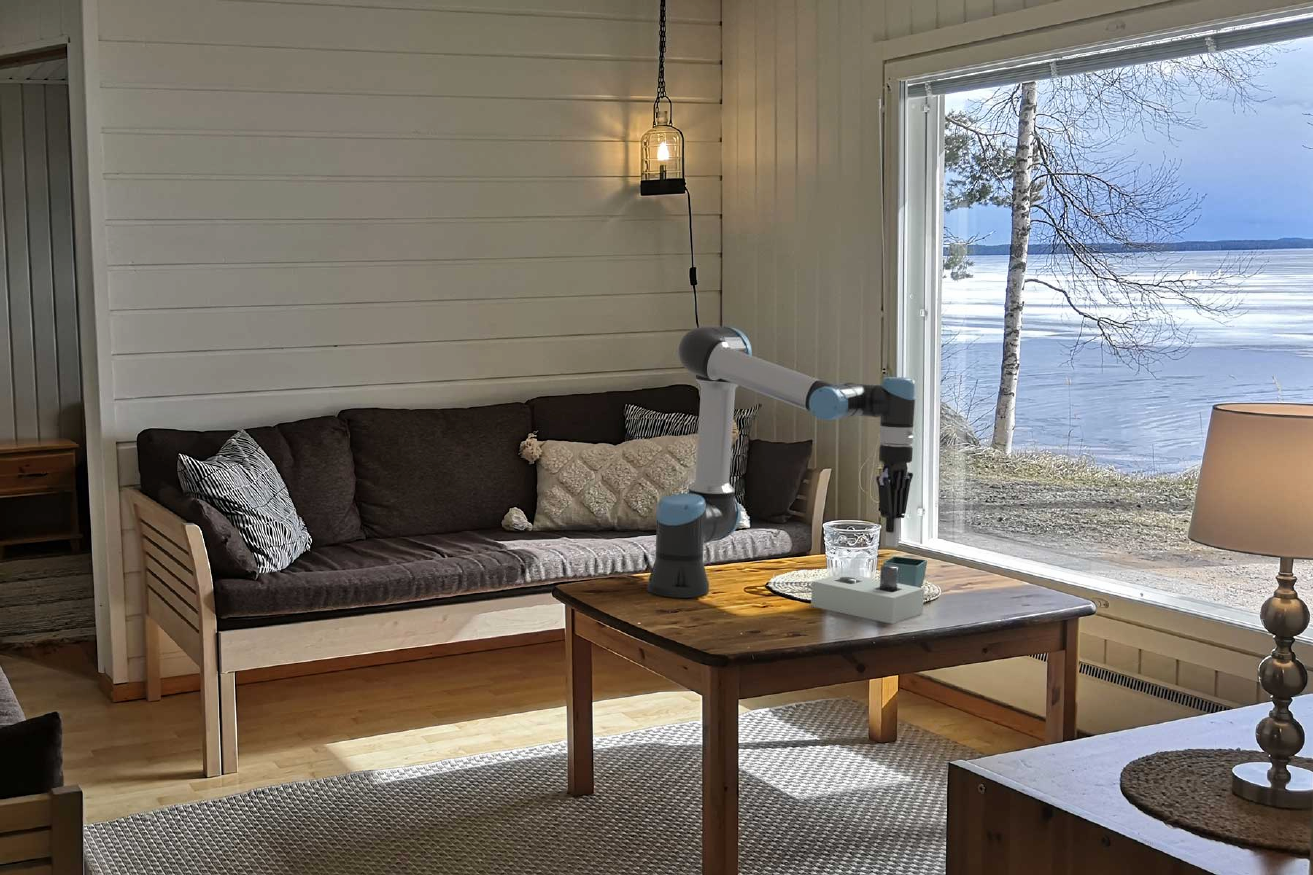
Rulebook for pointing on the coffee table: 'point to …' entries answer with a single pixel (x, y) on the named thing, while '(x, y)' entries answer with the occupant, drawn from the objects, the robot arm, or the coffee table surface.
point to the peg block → (867, 598)
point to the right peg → (888, 578)
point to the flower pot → (909, 570)
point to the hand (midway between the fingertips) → (891, 545)
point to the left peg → (847, 580)
